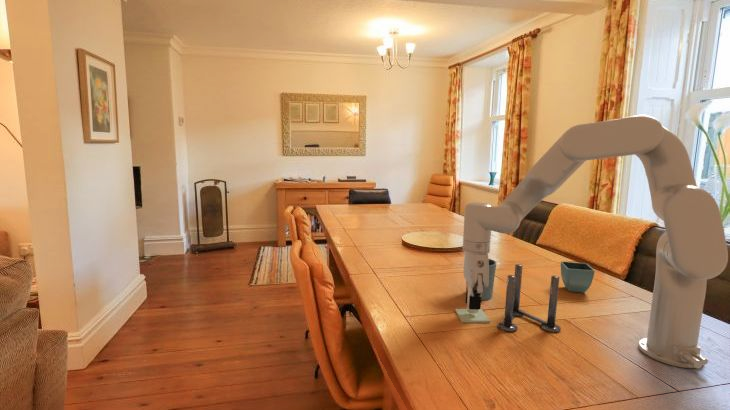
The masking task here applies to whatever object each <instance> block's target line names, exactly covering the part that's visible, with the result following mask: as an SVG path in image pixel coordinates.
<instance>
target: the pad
mask: <svg viewBox="0 0 730 410" xmlns="http://www.w3.org/2000/svg"><path fill="white" fill-rule="evenodd" d="M455 312H456V315H457V316H458V318H459V319H460V321H461V323H467V324H468V323H473V324H474V323H475V324H476V323H477V324H478V323H481V324H484V323H485V324H486V323H487V324H490V322H491V321H490V319H489V318H488V316H487V315H486V313H485V311H483V309H482V308H480V309H479V310H478V313H476V314H472V313H469V312H467V308H455Z"/></svg>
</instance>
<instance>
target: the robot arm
mask: <svg viewBox="0 0 730 410" xmlns="http://www.w3.org/2000/svg"><path fill="white" fill-rule="evenodd" d="M634 155H635V156H636V157H637V158H639V160H640V161H641V163H642V165H643V169H644V172H645V176H646V178H647V183H648V187H649V188H648V189H649V193H650V194H649V195H650V200H651V206H652V210H653V213H654V214H655V215H656V217H658V218H659V219H660V220H661V221H663V223H664V224H663V225H664V227H665V228H664V229H665V231H664V232H663V233H662V234H661V235H660V236H659V239H658V240H657V243H656V250H655V251H656V252H655V278H654V286H653V291H652V298H651V305H650V306H651V307H650V313H649V320H648V329H647V336H646V337H644V338H642V339H639V341H638V346H637V347H638V348H639V350H640V351H641V352H642V353H643V354H644V355H645V356H647V357H649V358H652V359H653V360H655V361H658V362H661V363H663V364H666V365H669V366H673V367H677V368H684V369H701V368H702V367H703V365H707V364H708V362H709V360H708V358H705V357H704V356H703V355H702V354H701V349H702V348H701V347H700V346H699V345H698V344H699V343H698V342H699V336H700V331H701V323H702V317H703V311H704V305H705V299H706V293H707V281H708V280H711V279H714V278H716V277H718V276H719V275H721V274H722V272H724V271H725V269H726V268H727V265H728V262H729V253H728V250H729V249H728V244H727V239H726V235H725V230H724V224H723V220H722V219H723V218H722V216H721V211H720V208H719V205H718V202H717V201H716V200H715V198H714V196H713V195H712V194H711V193H710V192H708V191H707V190H706V189H703V188H701V187H699V186H698V185H697V182H696V178H695V173H694V170H693V166H692V162H691V159H690V156H689V153H688V151H687V149H686V146H685V145H684V143H683V142H682V140H681V139H680V138H679V137H678V136H677V134H675V133H673V132H672V131H671V130H670V129H668V128H666V127H664V126H663V124H662V123H661V122H660V121H659V120H658V119H657V118H656V117H653V116H651V115H647V114H639V115H632V116H627V117H622V118H621V117H620V118H615V119H614V118H613V119H608V120H603V121H596V122H589V123H582V124H576V125H573V126H571V127H569V128H568V129H566V130H565V131H564V133H563V134H561V136H559V138H558V139H557V140H556V141H555V142H554V143H553V144H552V145H551V147H550V148H549V149H548V150H547V151H546V152H545V153H544V154H542V156H541V157H540V158H539V159H538V160H537V162H535V163H534V165H532V167H531V168H530V169H529V170H528V171H527V173H526V174H525V175H524V177H523V179H522V180H521V181H520V182H519V183H518V184H517V185H516V186H515V188H514V189H513V190H512V191H511V192H510V193H509V194H508V195H507V196H506V197H505V198H504V199H503V201H502V202H501V203H499V204H498V205H497V206H492V205H490V204H489V203H487V202H486V203H485V202H469V203H467V204H466V205H465V207H464V217H463V218H464V220H463V233H462V234H463V236H462V251H463V252H464V259H463V260H464V261H463V277H464V280H465V282H466V281H467V285H465V304H466V305H467V298H468V291H466V290H468V283H469V285H470V286H471V296H470V297H469V309H475V310H479V309H481V305H482V300H481V295H482V293H483V286H484V287H485V288H487V287H488V284H489V260H488V259H489V253H490V251H491V237H492V232H496V233H500V234H511V233H514V232H515V231H517V229H518V228H519V227H520V225H521V221H522V220H523V219H524V218H525V217H527V215H528V214H529V213H530V212H531V211H532V210H533V209H534V208H535V207H536V206H537V205H538V204H539V203H540V202H542V200H544V199H545V198H547V197H548V196H551V195H552V194H554V193H555V192H556V191H557V190H559V188H561V187H562V186H563V185H564V183H566V181H568V180H569V179H570V178H571V176H572V175H573V174H574V173H575V172H577V171H578V169H579V168H581V167H582V166H583V165H584V163H585V162H586V161H591V160H603V159H610V158H619V157H625V156H634ZM474 284H477V285H474ZM482 284H483V286H482ZM474 288H477V289H476V290H474Z"/></svg>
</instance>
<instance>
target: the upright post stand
mask: <svg viewBox="0 0 730 410" xmlns="http://www.w3.org/2000/svg"><path fill="white" fill-rule="evenodd" d="M522 276H523V265H522V264H521V263H520V264H518V263H516V264H515V265H514V275H513V274H507V276H506V277H507V278H506V291H505V304H504V305H505V306H504V318H503V319H504V320H503V321H500V322H499V323H497V328H498V329H499V330H501V331H502V332H507V333H514V332H517V331H518V326H517V325H516V324H515V323H513V320H514V318H515V317H523V316H524V317H526V318H529V319H530V320H533V321H535V322H537V323H540V329H542V330H543V331H545V332H549V333H553V334H555V333H557V334H558V333H560V332H561V331H562V330H561V329H562V328H561V326H560V325H558V324H556V319H557V317H556V316H557V309H558V308H557V307H558V297H559V286H560V276H557V275H551V277H550V285H549V287H550V289H549V299H548V310H547V318H546V319H547V320H545V319H542V318H539V317H537V316H534V315H532V314H530V313H529V312H525V311H524V310H523V309H520V301H521V300H520V299H521V291H522V290H521V289H522Z"/></svg>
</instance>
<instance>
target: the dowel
mask: <svg viewBox="0 0 730 410" xmlns="http://www.w3.org/2000/svg"><path fill="white" fill-rule="evenodd" d="M474 285H477V284H474ZM476 289H477V288H474V290H476ZM470 296H471V286H470V285H469V283H468V298H467V304H466V309H467V312H469V313H472V314H476V313H478V310H475V309H469V297H470Z"/></svg>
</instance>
